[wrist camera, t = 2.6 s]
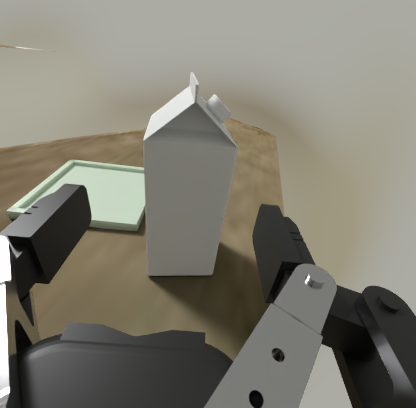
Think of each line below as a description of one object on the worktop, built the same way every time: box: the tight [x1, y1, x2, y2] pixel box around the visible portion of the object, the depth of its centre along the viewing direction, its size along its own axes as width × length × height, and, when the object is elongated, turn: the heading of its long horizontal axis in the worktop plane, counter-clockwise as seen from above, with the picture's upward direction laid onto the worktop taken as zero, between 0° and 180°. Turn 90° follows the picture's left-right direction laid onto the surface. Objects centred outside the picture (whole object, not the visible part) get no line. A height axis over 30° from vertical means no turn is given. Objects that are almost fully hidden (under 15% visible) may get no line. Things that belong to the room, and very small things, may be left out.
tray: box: [7, 159, 145, 232], centre depth 37 cm, size 16×16×1 cm
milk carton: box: [143, 73, 238, 276], centre depth 23 cm, size 7×7×19 cm
